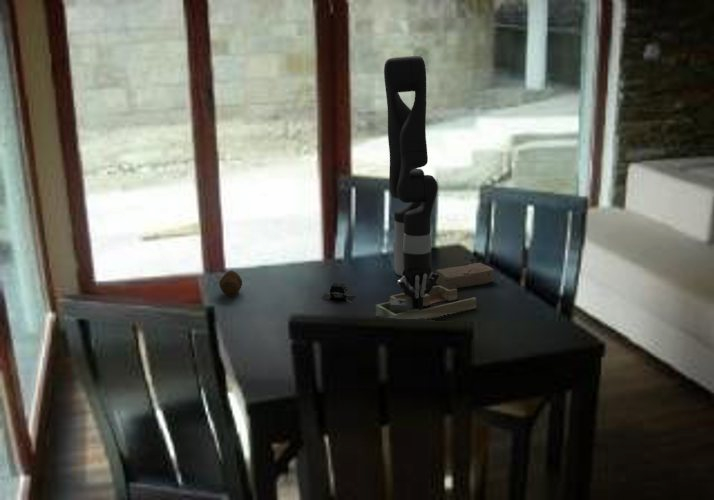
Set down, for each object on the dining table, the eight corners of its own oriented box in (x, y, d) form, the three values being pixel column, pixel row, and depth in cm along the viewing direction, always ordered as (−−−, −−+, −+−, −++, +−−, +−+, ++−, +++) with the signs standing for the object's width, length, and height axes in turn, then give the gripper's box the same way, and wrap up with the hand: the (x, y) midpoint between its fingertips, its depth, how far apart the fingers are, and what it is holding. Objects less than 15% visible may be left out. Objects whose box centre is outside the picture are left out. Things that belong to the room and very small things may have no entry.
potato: (219, 301, 239) (218, 279, 237) (220, 289, 250) (218, 267, 248) (243, 300, 240) (241, 277, 238) (242, 287, 251) (241, 265, 249)
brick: (445, 291, 245) (445, 276, 243) (433, 282, 252) (433, 268, 251) (494, 283, 250) (495, 269, 249) (481, 275, 258) (481, 261, 256)
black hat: (362, 297, 242) (362, 282, 241) (355, 305, 235) (355, 290, 234) (322, 294, 245) (321, 279, 244) (314, 302, 238) (313, 287, 237)
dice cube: (412, 317, 224) (412, 299, 223) (407, 323, 220) (407, 306, 218) (395, 315, 226) (394, 298, 225) (389, 321, 221) (389, 304, 220)
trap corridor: (366, 311, 229) (366, 299, 228) (445, 293, 242) (445, 282, 241) (394, 327, 217) (394, 315, 216) (476, 308, 230) (476, 296, 229)
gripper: (430, 241, 227) (429, 300, 232) (388, 249, 221) (389, 309, 226) (445, 248, 221) (445, 309, 226) (403, 256, 215) (404, 318, 220)
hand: (417, 309), depth 226 cm, fingers closed
